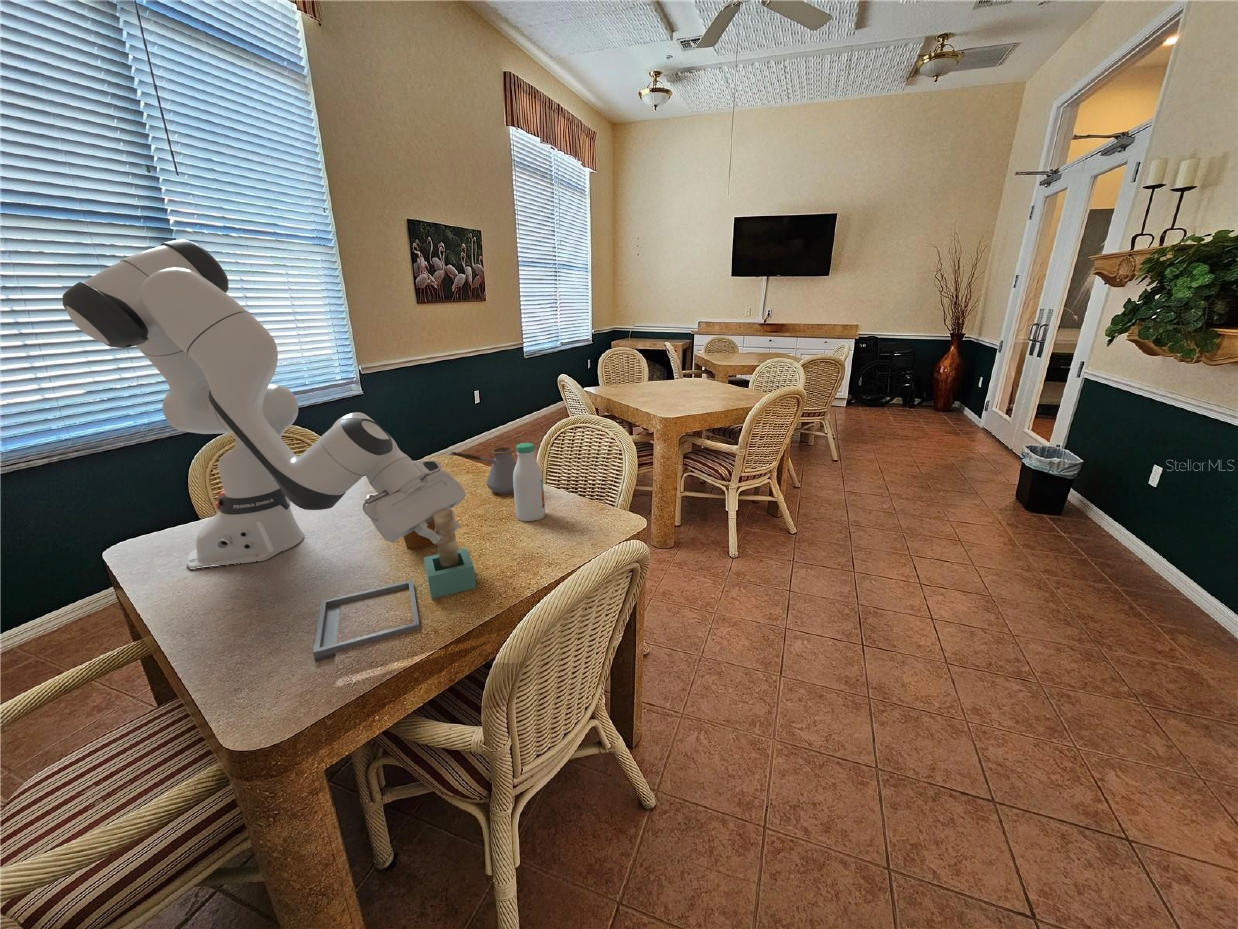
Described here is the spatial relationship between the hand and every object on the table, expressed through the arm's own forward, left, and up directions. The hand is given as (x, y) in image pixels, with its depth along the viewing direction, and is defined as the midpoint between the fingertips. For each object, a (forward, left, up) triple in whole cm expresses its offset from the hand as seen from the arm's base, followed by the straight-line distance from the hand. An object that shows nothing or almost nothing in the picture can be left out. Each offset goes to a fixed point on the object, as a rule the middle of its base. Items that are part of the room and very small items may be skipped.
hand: (448, 535), depth 97 cm
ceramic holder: (-1, 0, -11) cm, 11 cm away
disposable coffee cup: (-5, +22, -12) cm, 25 cm away
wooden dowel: (0, +1, -7) cm, 7 cm away
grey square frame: (-16, -5, -11) cm, 20 cm away
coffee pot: (+17, +48, -12) cm, 52 cm away
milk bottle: (+23, +26, -12) cm, 37 cm away
